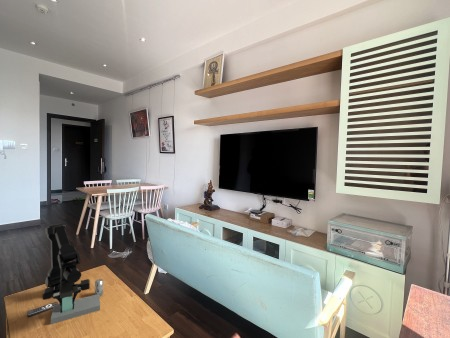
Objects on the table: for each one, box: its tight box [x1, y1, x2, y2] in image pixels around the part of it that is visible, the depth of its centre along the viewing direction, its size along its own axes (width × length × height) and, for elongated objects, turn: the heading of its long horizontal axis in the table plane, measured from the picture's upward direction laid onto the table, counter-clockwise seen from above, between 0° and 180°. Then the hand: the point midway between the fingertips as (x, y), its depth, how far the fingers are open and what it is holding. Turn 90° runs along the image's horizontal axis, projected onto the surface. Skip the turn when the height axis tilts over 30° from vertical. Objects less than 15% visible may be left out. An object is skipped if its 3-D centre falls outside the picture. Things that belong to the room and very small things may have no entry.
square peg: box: [61, 295, 74, 313], centre depth 109 cm, size 4×4×8 cm
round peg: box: [94, 278, 104, 297], centre depth 124 cm, size 4×4×8 cm
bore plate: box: [50, 294, 101, 325], centre depth 111 cm, size 11×20×2 cm, turn 122°
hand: (67, 305), depth 109 cm, fingers closed on square peg, 4 cm apart
